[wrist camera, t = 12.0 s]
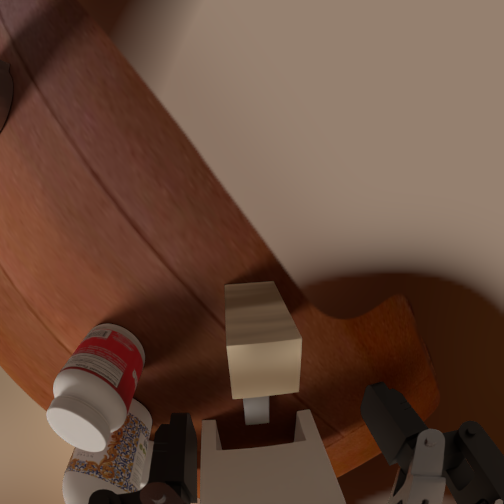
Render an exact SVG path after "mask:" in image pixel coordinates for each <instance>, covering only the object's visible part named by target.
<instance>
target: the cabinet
mask: <svg viewBox="0 0 504 504" xmlns="http://www.w3.org/2000/svg"><path fill="white" fill-rule="evenodd" d="M200 504H346V502H345V499H344V497H343V494H342V492H341V489H340V486H339V484H338V481H337V479H336V476H335V474H334V471H333V468H332V466H331V463H330V461H329V458H328V455H327V453H326V450H325V448H324V445H323V442H322V440H321V437H320V435H319V432H318V429H317V427H316V424H315V422H314V419H313V416H312V414H311V411H310V409H307V410H302V411H297V414H296V425H295V436H294V443H288V444H281V445H274V446H266V447H257V448H246V449H233V450H222V447H221V442H220V438H219V433H218V429H217V424H216V420H202V436H201V476H200Z"/></svg>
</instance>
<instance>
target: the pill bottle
mask: <svg viewBox="0 0 504 504" xmlns="http://www.w3.org/2000/svg"><path fill="white" fill-rule="evenodd" d="M144 363H145V353H144V350H143V347H142V345H141V343H140V342H139V340H138V339H137V338H136V337H135V336H134V335H133V334H132V333H131V332H130V331H128V330H127V329H125V328H123V327H121V326H118V325H115V324H109V323H107V324H101V325H98V326H96V327H94V328H93V329H92V330H91V331H90V332H89V333H88V334H87V336H86V337H85V338H84V340H83V341H82V342H81V344H80V345H79V346H78V348H77V349H76V351H75V352H74V353H73V355H72V356H71V357H70V359H69V360H68V361H67V363H66V364H65V366H64V367H63V368H62V369H61V371H60V372H59V374H58V375H57V377H56V379H55V382H54V386H53V392H54V397H55V399H54V400H53V401H52V403H51V405H50V407H49V409H48V410H47V414H46V416H47V420H48V422H49V424H50V426H51V427H52V429H53V430H54V431H55V432H56V433H57V434H58V435H59V436H60V437H61V438H62V439H64V440H65V441H66V442H68V443H69V444H71V445H73V446H75V447H77V448H79V449H82V450H85V451H89V452H100V451H102V450H104V449H105V447H106V445H107V442H108V440H109V437H110V433H111V432H114V431H116V430H118V429H119V428H120V427H121V426H122V425H123V424H124V422H125V419H126V417H127V414H128V411H129V408H130V404H131V402H132V398H133V396H134V393H135V390H136V387H137V384H138V381H139V378H140V376H141V373H142V370H143V367H144Z"/></svg>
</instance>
